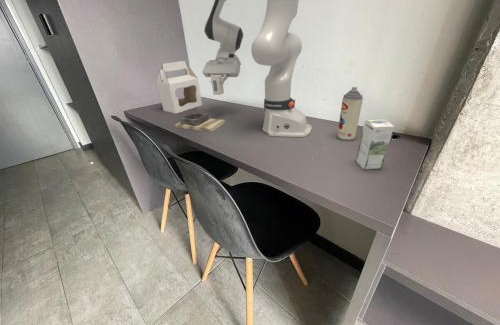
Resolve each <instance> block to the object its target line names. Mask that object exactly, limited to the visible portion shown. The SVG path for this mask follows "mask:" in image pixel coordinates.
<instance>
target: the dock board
mask: <svg viewBox="0 0 500 325" xmlns="http://www.w3.org/2000/svg"><path fill="white" fill-rule="evenodd" d="M209 115H210V114H209V113H199V112H191V113H188V114H187V115H185V116H182V117H180V118H179V122H177V123H176V124H174V127H175V128H178V129H185V130H193V131H194V130H195V131H203V132H210V133H211V132H213V131H215V130H217V129H218V128H219V127H221V126H223V125H224V124H225V123H226V120H225V119H218V118H217V119H215V118H210V116H209Z"/></svg>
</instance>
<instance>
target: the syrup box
mask: <svg viewBox="0 0 500 325" xmlns="http://www.w3.org/2000/svg"><path fill="white" fill-rule="evenodd" d="M394 128H395V126H394V125H393V124H392V123H391V122H389V121H387V120H386V119H373V120H371V119H369V120H364V122H363V127H362V130H361V131H362V132H361V137H360V140H359V145H358V150H357V154H356V159H355V162H356V163H357V165H359V167H361V169H362V170H364V171H365V170H368V171H369V170H381V169H382V168H383V165H384V162H385V158H386V155H387V151H388V148H389V145H390V142H391V138H392V136H393V131H394Z"/></svg>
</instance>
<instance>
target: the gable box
mask: <svg viewBox="0 0 500 325" xmlns="http://www.w3.org/2000/svg"><path fill="white" fill-rule="evenodd" d="M160 67H161V69H160V70H159V74H158V78H157V81H156V87H157V90H158V93H159V97H160V102H161V104H162V110H163V111H164V112H167V113H172V114H175V115H176V114H178V113H182V112H184V111H189V110H191V109H194V108H197V107H200V106H203V102H202V101H203V100H202V96H201V95H202V94H201V91H200V90H201V89H200V84H199V78H198V76H197V75H196V74H195V72H194V71H193V70H192V68H190V65H187V63H186V61H185V60H180V61H172V62H165V63H162V65H160ZM179 70H184V75H180V76H175V77H169V78H168V77H167V75H166V73H168V72H172V71H179ZM180 88H181V89H182V88H183V96H184V99H183V100H179V99H178V96H177V95H176V90H177V89H180Z"/></svg>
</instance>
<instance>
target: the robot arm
mask: <svg viewBox="0 0 500 325" xmlns="http://www.w3.org/2000/svg"><path fill="white" fill-rule="evenodd" d="M226 1H227V0H214V1H213V6H212V7H211V10H210V13H209V16H208V17H207V19H206V21H205V24H204V30H203V31H204V34H205V35H206V37H207V38H208V40H211V41H214V42H215V41H216V42H217V43H220V44H219V48H218V50H217V52H216V57H215V58H214V59H212V60H211V59H210V60H208V61H207V62H206V63H205V65H204V66H203V69H202V74H203V75H204V76H205V78H211V76H213V75H222V79H220V83H221V84H223V85H224V84H225V82H226V81H227V80H228V78H238V77H239V75H240V72H241V65H242V63H241V60H240V58H239V56H238V55H237V54H236V53H237V51H239V49H240V48H241V45H242V42H243V38H244V32H243V30H242V28H241V27H240V26H238V25H236V24H234V23H232V22H230V21H227V20H224V19H223V18H221V17H220V14H221V12H222V9H223V8H224V7H223V6H224V4H225V3H226ZM298 6H299V0H267V1H266V10H265V15H264V19H263V22H262V24H261V25H262V26H261V28H260V31H259V33H258V35H257V36H256V38H255V39H253V42H252V43H251V56H252V59H253V61H254V62H255V63H256V64H257V65H261V66H266V67H267V66H268V67H269V66H270V69H269V72H268V74H267V75H266V77H265V79H264V100H263V108H264V119H263V125H262V131H263V132H264V133H266V134H267V135H268V136H269V137H283V138H284V137H285V138H287V137H289V138H290V137H291V138H305V137H307V136H309V134H311V132H312V130H313V129H312V126H311V124H308V122H307V117H306V115H305V114H304V113H303V112H302V111H300V110H299V109H298V108H297V107H295V106H296V105H295V104H296V98H295V99H293V98H292V97H291V93H292V92H291V90H292V77H293V72H294V69H295V66H296V62H297V59H298V58H299V56H300V54H301V52H302V48H303V44H302V43H303V42H302V40H301V38H300V37H299V36H298V35H297V34H295V33H293V32H289V28H290V26H291V23H292V21H293V20H294V19H295V17H296V16H297V14H298ZM210 83H211V84H212V81H211V80H210Z"/></svg>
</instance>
